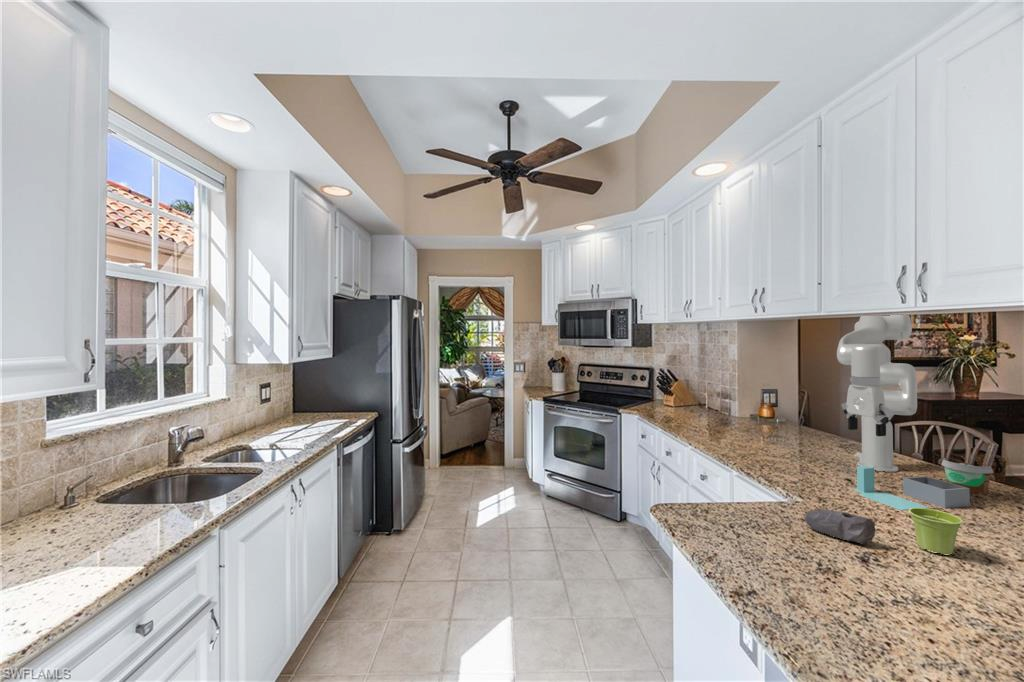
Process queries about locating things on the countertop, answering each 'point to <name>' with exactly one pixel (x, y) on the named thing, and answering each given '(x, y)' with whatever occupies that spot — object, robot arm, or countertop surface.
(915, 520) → the plant pot
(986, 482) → the food container
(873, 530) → the perforated stone tool
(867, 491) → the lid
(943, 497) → the tub
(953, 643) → the countertop surface
